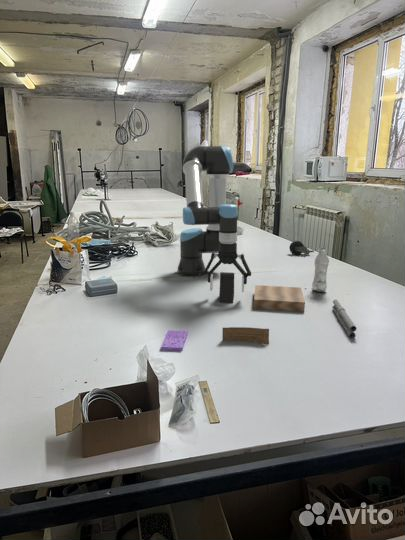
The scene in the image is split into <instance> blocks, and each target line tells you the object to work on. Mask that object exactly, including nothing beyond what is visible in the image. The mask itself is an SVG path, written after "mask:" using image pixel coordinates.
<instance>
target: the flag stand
mask: <svg viewBox="0 0 405 540" xmlns="http://www.w3.org/2000/svg"><path fill="white" fill-rule="evenodd" d="M234 200H235V205H236V206H237V207H239V206H241V205H242V204H244V202H241V201H239V197H238V196H235V197H234ZM244 231H245V227H244V226H239V225H237V236H241V235H240V234H242V235H243V234H244V233H243V232H244Z"/></svg>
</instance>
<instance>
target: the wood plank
mask: <svg viewBox="0 0 405 540" xmlns="http://www.w3.org/2000/svg"><path fill="white" fill-rule="evenodd" d="M221 340H222V342H223V341H228V342H229V341H230V342H247V343H255V344H262V345H269V344H270V328H261V327H260V328H259V327H248V326H247V327H244V326H243V327H239V326H238V327H236V326H232V327H231V326H230V327H222V339H221Z"/></svg>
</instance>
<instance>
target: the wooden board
mask: <svg viewBox="0 0 405 540" xmlns="http://www.w3.org/2000/svg"><path fill="white" fill-rule="evenodd" d="M253 298H254V299H253V309H254V310H255V309H256V310H271V311H272V310H273V311H284V312H285V311H287V312H302V313H304V312H305V307H306V306H305V305H306V301H305V297H304V293H303V290H302V287H299V286H298V287H297V286H296V287H295V286H281V285H279V286H277V285H259V284H255V289H254V297H253Z"/></svg>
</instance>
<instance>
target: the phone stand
mask: <svg viewBox="0 0 405 540" xmlns="http://www.w3.org/2000/svg"><path fill="white" fill-rule="evenodd" d="M234 298H235V272H223V271H221V272H220V273H219V296H218V302H219V303H223V304H224V303H231V304H234Z"/></svg>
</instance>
